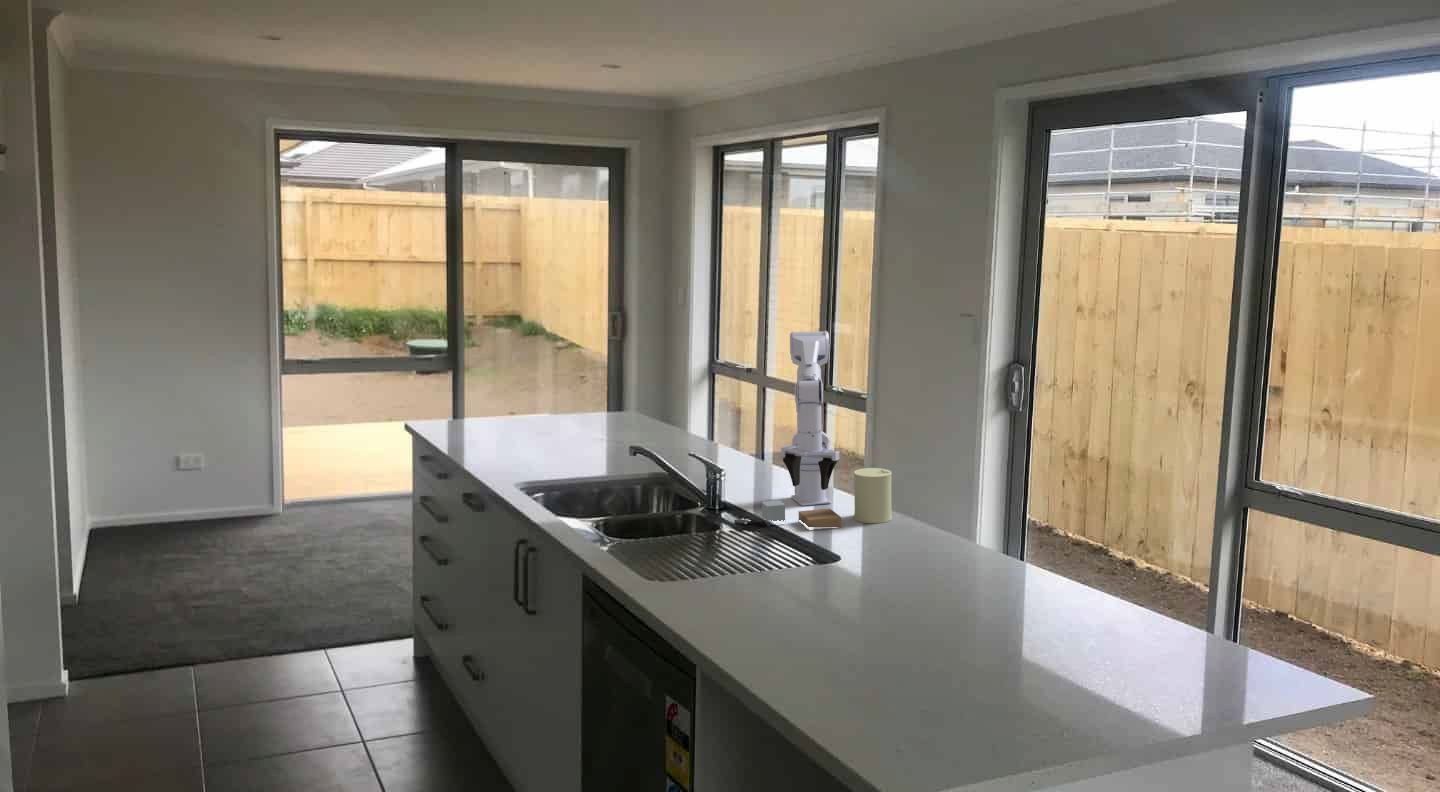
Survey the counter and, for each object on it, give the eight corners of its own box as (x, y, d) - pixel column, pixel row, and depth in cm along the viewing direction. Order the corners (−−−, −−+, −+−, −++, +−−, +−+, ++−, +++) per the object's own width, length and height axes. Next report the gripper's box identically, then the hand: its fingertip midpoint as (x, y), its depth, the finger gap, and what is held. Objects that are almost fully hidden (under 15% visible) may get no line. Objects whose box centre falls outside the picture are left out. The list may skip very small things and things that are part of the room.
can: (894, 523, 272) (894, 474, 270) (855, 523, 272) (855, 475, 270) (889, 512, 281) (889, 465, 279) (852, 513, 282) (851, 466, 280)
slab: (798, 523, 276) (798, 511, 275) (829, 520, 278) (829, 508, 277) (809, 532, 268) (808, 520, 268) (841, 529, 270) (841, 516, 269)
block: (762, 521, 277) (761, 501, 276) (779, 520, 278) (779, 500, 277) (767, 526, 273) (766, 506, 272) (785, 524, 274) (784, 504, 273)
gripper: (774, 431, 268) (775, 487, 270) (829, 436, 260) (829, 494, 262) (788, 426, 274) (789, 480, 276) (843, 431, 266) (843, 487, 268)
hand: (810, 487), depth 270 cm, fingers open, 7 cm apart
